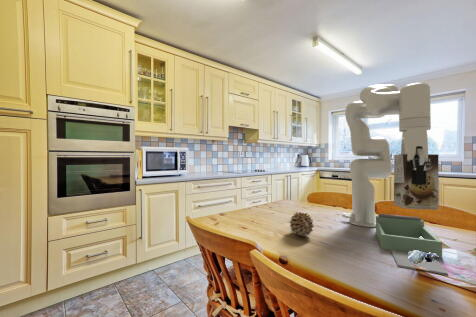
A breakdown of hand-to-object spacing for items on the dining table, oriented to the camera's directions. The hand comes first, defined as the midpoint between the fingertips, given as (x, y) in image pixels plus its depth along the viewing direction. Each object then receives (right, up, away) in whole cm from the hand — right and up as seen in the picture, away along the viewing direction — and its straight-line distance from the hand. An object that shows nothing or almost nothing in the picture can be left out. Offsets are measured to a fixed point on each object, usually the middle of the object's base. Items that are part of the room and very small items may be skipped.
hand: (415, 182), depth 67 cm
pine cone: (-28, -25, +27) cm, 46 cm away
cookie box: (0, -8, 0) cm, 8 cm away
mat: (0, -24, 0) cm, 24 cm away
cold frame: (+8, -24, +15) cm, 29 cm away
